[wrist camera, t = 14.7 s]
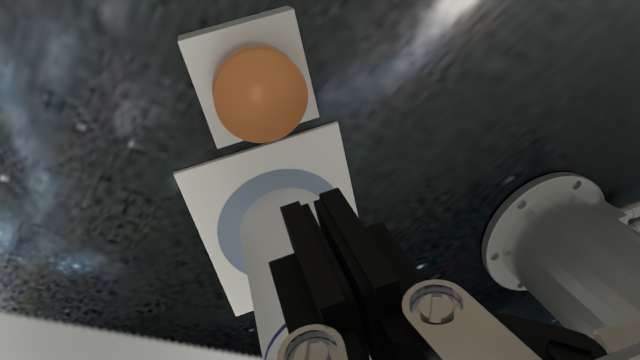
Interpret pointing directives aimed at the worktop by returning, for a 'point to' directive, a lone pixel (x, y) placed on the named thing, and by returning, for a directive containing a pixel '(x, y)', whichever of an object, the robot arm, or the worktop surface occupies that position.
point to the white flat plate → (257, 194)
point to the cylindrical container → (262, 247)
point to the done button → (259, 93)
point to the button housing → (221, 39)
